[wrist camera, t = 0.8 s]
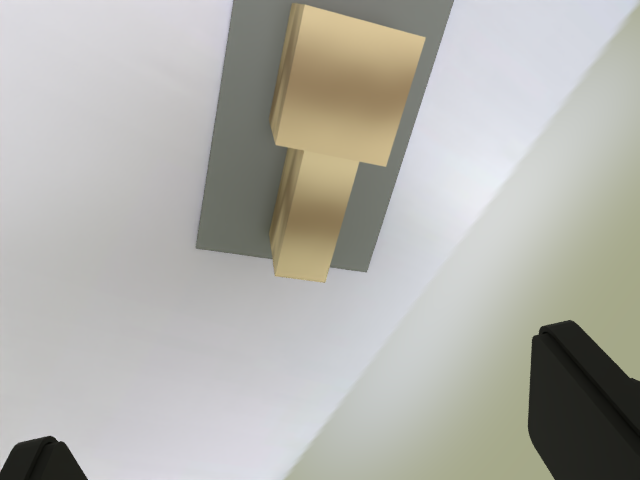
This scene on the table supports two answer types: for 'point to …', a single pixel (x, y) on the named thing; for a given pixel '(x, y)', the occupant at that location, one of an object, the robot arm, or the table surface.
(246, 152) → the rest mat
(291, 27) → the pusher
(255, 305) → the table surface
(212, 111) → the table surface
